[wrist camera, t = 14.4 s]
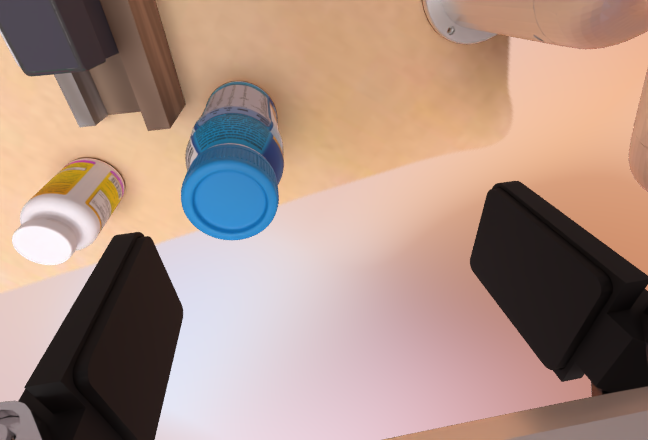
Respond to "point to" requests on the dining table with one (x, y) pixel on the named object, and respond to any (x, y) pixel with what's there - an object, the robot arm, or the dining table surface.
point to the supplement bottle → (68, 211)
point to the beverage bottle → (234, 164)
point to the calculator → (56, 35)
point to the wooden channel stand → (128, 71)
